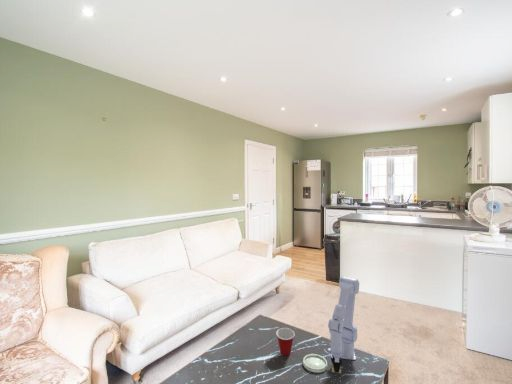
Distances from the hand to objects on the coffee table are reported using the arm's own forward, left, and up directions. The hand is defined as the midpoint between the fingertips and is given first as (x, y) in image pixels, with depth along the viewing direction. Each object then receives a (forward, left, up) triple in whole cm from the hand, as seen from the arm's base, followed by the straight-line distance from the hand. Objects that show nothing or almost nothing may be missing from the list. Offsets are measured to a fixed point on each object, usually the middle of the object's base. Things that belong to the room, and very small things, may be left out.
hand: (336, 367), depth 144 cm
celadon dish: (-2, -11, -1) cm, 11 cm away
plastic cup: (-9, -28, -2) cm, 29 cm away
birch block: (0, 0, -2) cm, 2 cm away
